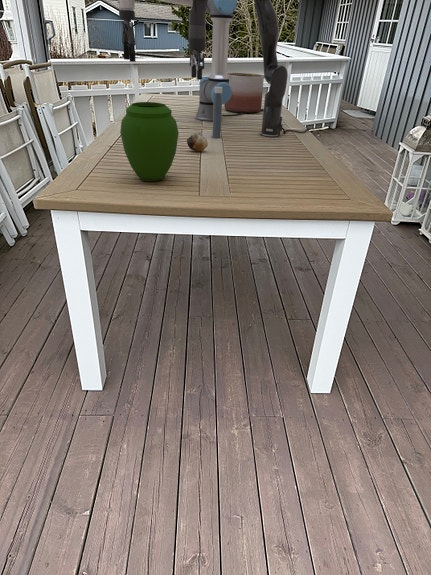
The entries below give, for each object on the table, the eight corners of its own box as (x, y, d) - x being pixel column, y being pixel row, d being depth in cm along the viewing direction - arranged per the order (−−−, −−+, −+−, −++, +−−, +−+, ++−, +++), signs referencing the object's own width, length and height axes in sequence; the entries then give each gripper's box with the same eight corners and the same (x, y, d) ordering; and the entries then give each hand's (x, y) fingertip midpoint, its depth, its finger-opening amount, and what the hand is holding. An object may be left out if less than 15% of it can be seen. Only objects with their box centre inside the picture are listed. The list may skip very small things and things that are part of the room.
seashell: (207, 149, 185) (207, 131, 181) (208, 152, 180) (209, 134, 176) (186, 149, 184) (186, 130, 179) (187, 152, 179) (187, 133, 175)
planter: (265, 114, 273) (268, 77, 261) (227, 113, 269) (230, 75, 257) (255, 107, 294) (258, 73, 282) (221, 107, 290) (222, 72, 278)
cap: (214, 93, 196) (214, 87, 195) (214, 92, 199) (214, 86, 198) (222, 93, 196) (222, 87, 195) (222, 92, 199) (222, 86, 198)
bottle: (212, 137, 207) (214, 88, 195) (212, 136, 210) (214, 87, 198) (220, 138, 207) (222, 88, 195) (220, 136, 210) (222, 87, 198)
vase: (131, 189, 135) (125, 110, 122) (118, 172, 150) (112, 100, 137) (186, 184, 142) (187, 109, 129) (169, 168, 157) (167, 99, 144)
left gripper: (113, 9, 203) (117, 58, 215) (124, 8, 184) (127, 62, 195) (128, 10, 206) (131, 58, 217) (140, 9, 187) (142, 62, 198)
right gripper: (210, 38, 174) (209, 80, 183) (200, 37, 186) (199, 77, 194) (193, 37, 172) (193, 80, 181) (184, 36, 183) (184, 76, 192)
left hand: (129, 60), depth 206 cm, fingers open, 13 cm apart
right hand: (196, 78), depth 188 cm, fingers open, 8 cm apart
